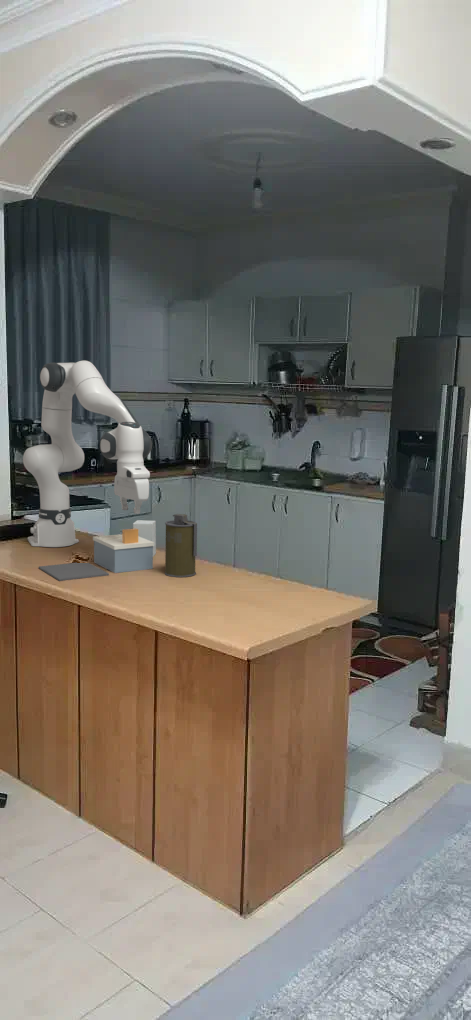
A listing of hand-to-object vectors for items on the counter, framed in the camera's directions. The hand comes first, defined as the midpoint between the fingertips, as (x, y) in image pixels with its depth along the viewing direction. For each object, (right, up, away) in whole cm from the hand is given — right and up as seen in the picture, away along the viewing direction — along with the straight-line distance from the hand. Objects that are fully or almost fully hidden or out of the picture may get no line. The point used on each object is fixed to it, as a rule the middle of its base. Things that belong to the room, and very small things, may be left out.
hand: (130, 511), depth 266 cm
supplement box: (+2, -16, +26) cm, 30 cm away
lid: (-4, -11, +7) cm, 13 cm away
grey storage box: (-4, -19, +8) cm, 21 cm away
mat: (-19, -20, -3) cm, 28 cm away
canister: (+17, -21, -2) cm, 27 cm away
